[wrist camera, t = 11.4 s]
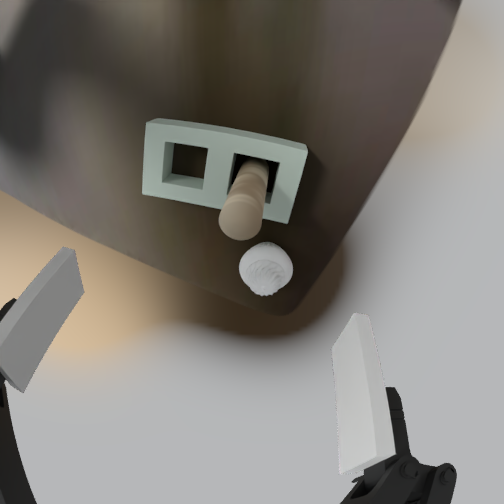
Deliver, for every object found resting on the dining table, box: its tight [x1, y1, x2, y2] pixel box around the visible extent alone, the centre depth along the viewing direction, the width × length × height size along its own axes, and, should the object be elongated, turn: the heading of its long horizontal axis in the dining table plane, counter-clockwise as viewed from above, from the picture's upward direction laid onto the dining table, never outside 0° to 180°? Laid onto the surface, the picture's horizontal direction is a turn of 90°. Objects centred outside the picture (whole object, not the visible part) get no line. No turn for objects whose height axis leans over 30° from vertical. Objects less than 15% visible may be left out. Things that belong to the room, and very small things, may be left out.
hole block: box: [142, 118, 308, 224], centre depth 29 cm, size 16×8×3 cm, turn 79°
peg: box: [219, 157, 269, 240], centre depth 25 cm, size 3×3×12 cm
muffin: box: [239, 242, 293, 296], centre depth 33 cm, size 6×6×7 cm
